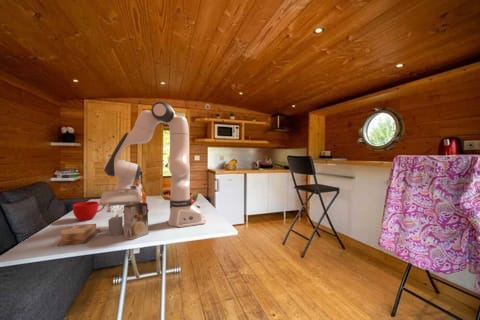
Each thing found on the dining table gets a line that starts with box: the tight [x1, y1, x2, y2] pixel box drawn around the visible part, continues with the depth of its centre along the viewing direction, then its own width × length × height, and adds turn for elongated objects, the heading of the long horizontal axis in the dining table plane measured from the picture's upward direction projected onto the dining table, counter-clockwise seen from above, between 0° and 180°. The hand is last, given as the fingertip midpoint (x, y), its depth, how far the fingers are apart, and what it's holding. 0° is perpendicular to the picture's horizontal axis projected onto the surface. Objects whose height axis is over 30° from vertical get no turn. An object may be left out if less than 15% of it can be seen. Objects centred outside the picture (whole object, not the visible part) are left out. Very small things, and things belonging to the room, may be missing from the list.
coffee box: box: [123, 201, 149, 241], centre depth 105 cm, size 9×6×16 cm
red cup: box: [72, 200, 106, 222], centre depth 133 cm, size 13×17×10 cm
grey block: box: [108, 216, 124, 237], centre depth 108 cm, size 5×5×8 cm
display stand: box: [57, 223, 100, 247], centre depth 103 cm, size 11×16×6 cm
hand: (118, 211), depth 113 cm, fingers open, 8 cm apart
